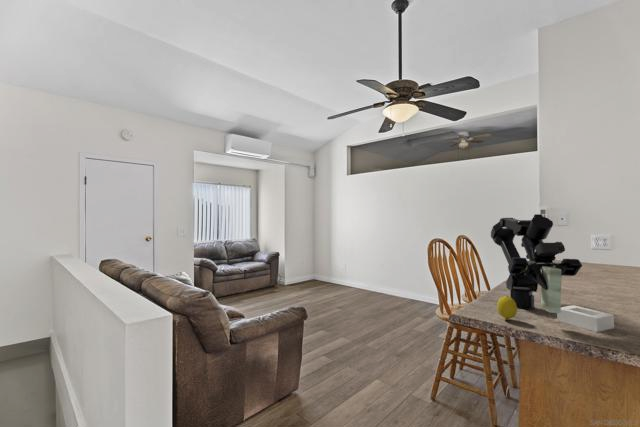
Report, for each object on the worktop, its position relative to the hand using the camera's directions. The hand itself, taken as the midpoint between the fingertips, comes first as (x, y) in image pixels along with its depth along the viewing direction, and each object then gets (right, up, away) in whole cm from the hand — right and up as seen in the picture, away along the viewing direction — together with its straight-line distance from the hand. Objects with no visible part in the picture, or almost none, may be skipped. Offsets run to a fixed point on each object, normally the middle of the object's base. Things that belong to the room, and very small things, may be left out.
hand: (553, 289), depth 90 cm
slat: (0, -7, +1) cm, 7 cm away
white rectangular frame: (+13, -12, +4) cm, 18 cm away
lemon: (-9, -12, +8) cm, 17 cm away
